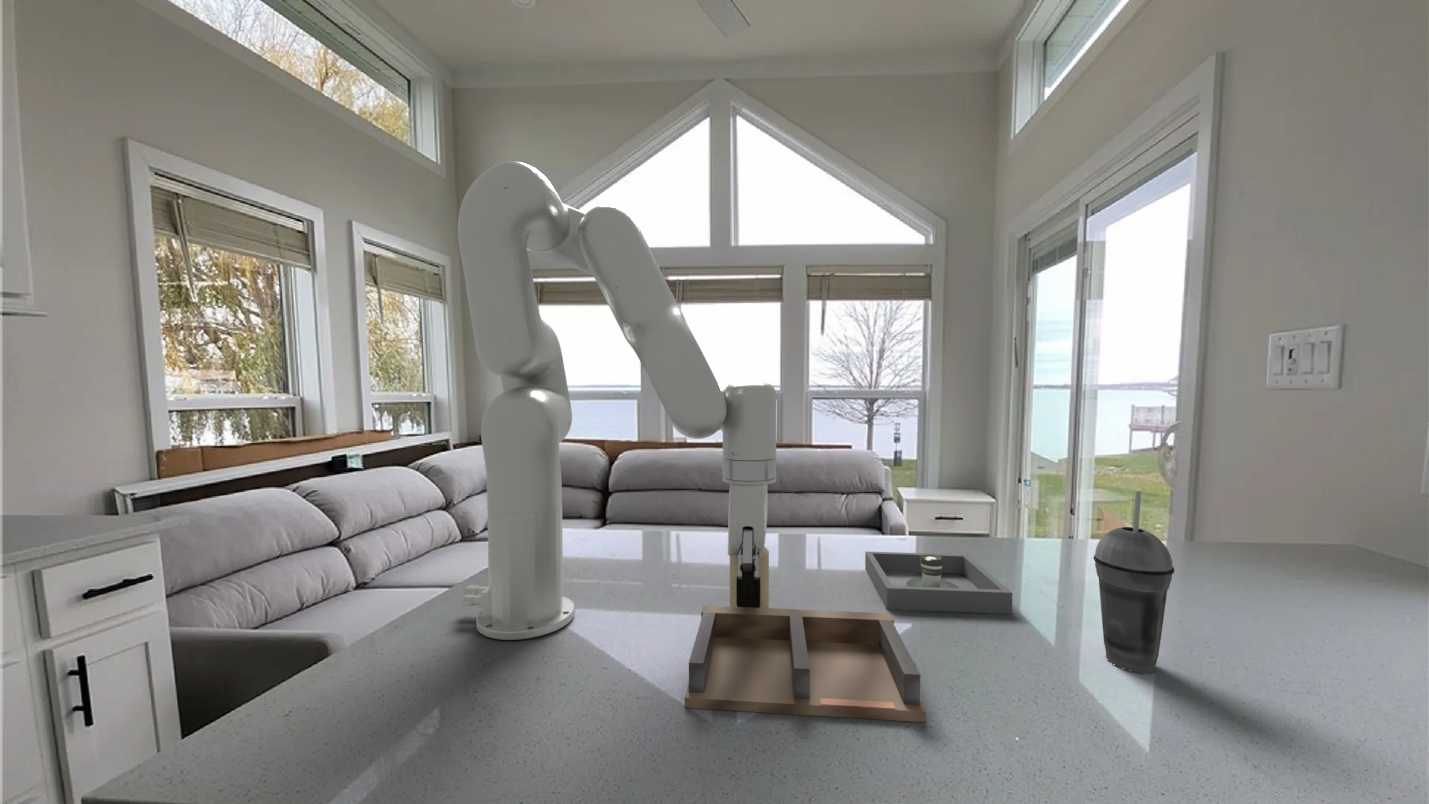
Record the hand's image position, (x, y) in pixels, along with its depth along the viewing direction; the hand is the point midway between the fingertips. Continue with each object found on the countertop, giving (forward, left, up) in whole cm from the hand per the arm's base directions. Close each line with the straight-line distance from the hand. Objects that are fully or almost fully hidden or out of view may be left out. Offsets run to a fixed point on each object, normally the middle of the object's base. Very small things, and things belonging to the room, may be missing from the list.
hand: (749, 596), depth 75 cm
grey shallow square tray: (+28, +11, -2) cm, 30 cm away
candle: (0, 0, -2) cm, 2 cm away
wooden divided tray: (+6, -16, -2) cm, 17 cm away
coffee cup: (+28, +11, -2) cm, 30 cm away
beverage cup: (+44, -10, -2) cm, 45 cm away
